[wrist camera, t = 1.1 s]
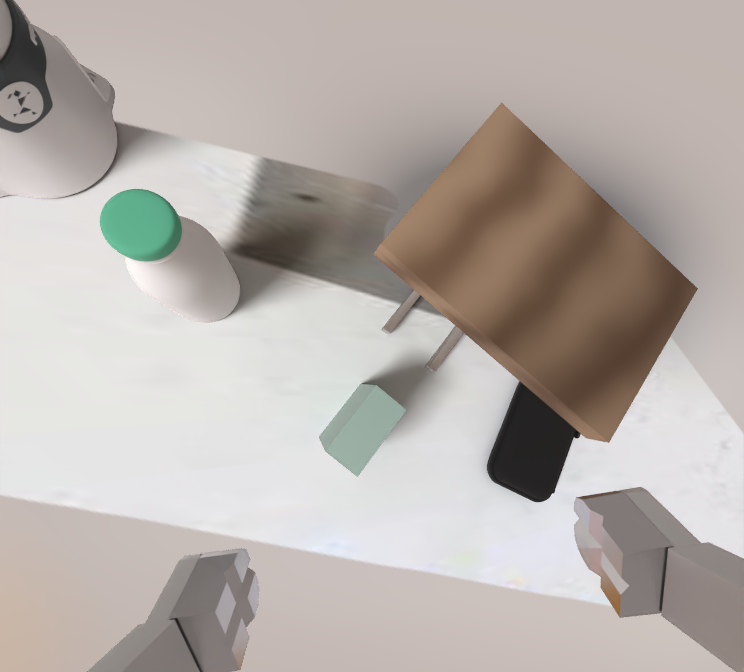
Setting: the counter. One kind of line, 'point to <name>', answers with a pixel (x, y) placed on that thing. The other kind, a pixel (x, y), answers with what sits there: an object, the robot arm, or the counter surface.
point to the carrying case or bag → (530, 447)
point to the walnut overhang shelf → (539, 275)
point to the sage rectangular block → (361, 427)
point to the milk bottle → (170, 256)
